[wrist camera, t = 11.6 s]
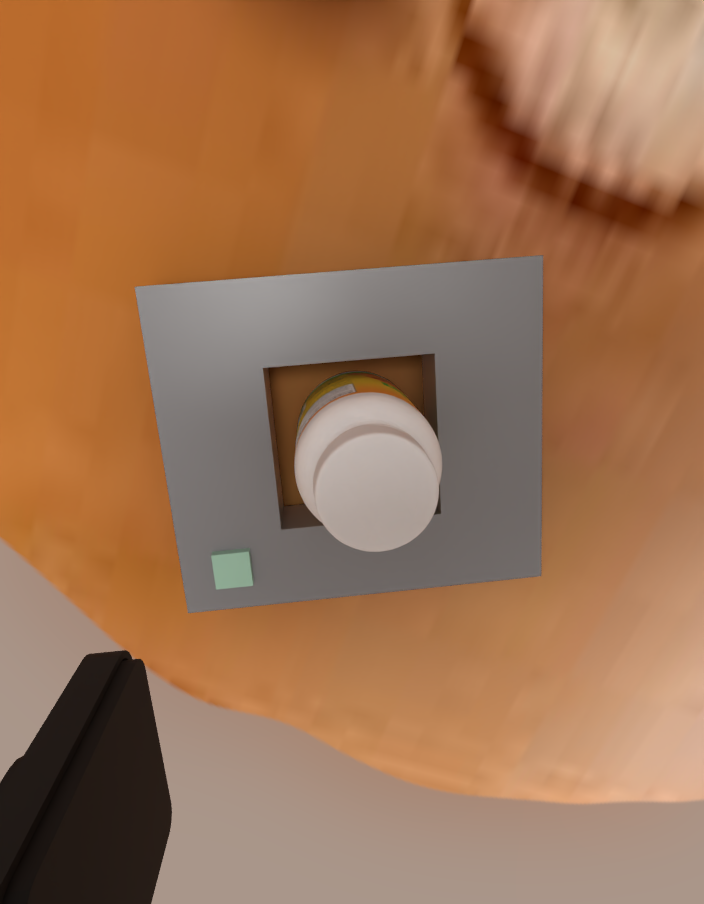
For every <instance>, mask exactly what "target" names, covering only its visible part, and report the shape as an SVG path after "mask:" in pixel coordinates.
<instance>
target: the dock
mask: <svg viewBox="0 0 704 904" xmlns="http://www.w3.org/2000/svg"><path fill="white" fill-rule="evenodd" d="M135 292H136V298H137V304H138V310H139V316H140V322H141V328H142V334H143V341H144V347H145V353H146V359H147V365H148V371H149V377H150V383H151V389H152V395H153V402H154V408H155V414H156V420H157V426H158V432H159V438H160V444H161V450H162V457H163V463H164V469H165V475H166V481H167V487H168V493H169V499H170V505H171V511H172V518H173V524H174V530H175V536H176V542H177V548H178V554H179V560H180V566H181V573H182V579H183V585H184V591H185V597H186V603H187V609H188V613H194V612H204V611H213V610H223V609H233V608H242V607H252V606H261V605H271V604H280V603H290V602H299V601H309V600H318V599H328V598H337V597H347V596H356V595H366V594H375V593H385V592H395V591H404V590H414V589H423V588H433V587H442V586H452V585H461V584H471V583H480V582H490V581H499V580H509V579H518V578H528V577H537V576H541V536H542V359H543V255H540V256H527V257H514V258H501V259H488V260H475V261H462V262H449V263H436V264H423V265H410V266H398V267H385V268H372V269H359V270H346V271H333V272H320V273H307V274H294V275H281V276H269V277H256V278H243V279H230V280H217V281H204V282H191V283H178V284H165V285H152V286H139V287H135ZM410 355H422V375H423V397H424V417H425V418H426V419H427V421H428V422H429V424H430V426H431V427H432V429H433V431H434V433H435V435H436V437H437V440H438V442H439V445H440V449H441V454H442V474H441V480H440V484H439V498H438V503H437V507H436V510H435V513H434V515H433V517H432V519H431V521H430V522H429V524H428V525H427V526H426V528H425V529H424V530H423V531H422V532H421V533H420V534H419V535H418V536H417V537H416V538H414V539H413V540H412V541H410V542H409V543H407V544H405V545H403V546H400V547H398V548H395V549H392V550H388V551H381V552H368V551H362V550H358V549H355V548H352V547H350V546H347V545H345V544H343V543H342V542H340V541H339V540H337V539H336V538H335V537H334V536H333V535H332V534H331V533H330V532H329V531H328V530H327V529H326V528H325V526H324V525H323V523H322V522H320V521H319V520H318V519H317V518H316V517H315V516H314V515H313V514H312V513H311V512H310V510H309V509H308V508H307V506H306V505H305V504H300V505H290V506H284V504H283V495H282V486H281V477H280V468H279V459H278V450H277V441H276V432H275V424H274V415H273V406H272V397H271V388H270V379H269V370H268V368H269V367H281V366H293V365H304V364H316V363H328V362H340V361H351V360H363V359H375V358H387V357H398V356H410Z"/></svg>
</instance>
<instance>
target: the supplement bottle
mask: <svg viewBox="0 0 704 904" xmlns="http://www.w3.org/2000/svg"><path fill="white" fill-rule="evenodd" d="M294 469H295V478H296V483H297V487H298V490H299V493H300V495H301V497H302V499H303V501H304V503H305V505H306V506H307V508H308V509H309V510H310V512H311V513H312V514H313V515H314V516H315V517H316V518H317V519H318V520H319V521H320V522H322V523H323V525H324V526H325V528H326V529H327V530H328V531H329V532H330V533H331V534H332V535H333V536H334V537H335V538H336V539H337V540H339V541H340V542H342V543H343V544H345V545H347V546H350V547H352V548H355V549H358V550H362V551H368V552H381V551H388V550H392V549H395V548H398V547H400V546H403V545H405V544H407V543H409V542H410V541H412V540H413V539H414V538H416V537H417V536H418V535H419V534H420V533H421V532H422V531H423V530H424V529H425V528H426V526H427V525H428V524H429V522H430V521H431V519H432V517H433V515H434V513H435V510H436V507H437V503H438V498H439V484H440V480H441V474H442V454H441V449H440V445H439V442H438V440H437V437H436V435H435V433H434V431H433V429H432V427H431V426H430V424H429V422H428V421H427V419H426V418H425V417H424V416H423V415H422V414H421V413H420V412H419V411H418V409H417V408H416V407H415V406H414V405H413V404H412V402H411V401H410V400H409V399H408V398H407V397H406V396H405V395H404V394H403V393H402V392H401V391H400V389H399V388H398V387H396V386H395V385H394V384H393V383H391V382H390V381H389V380H387V379H385V378H383V377H381V376H379V375H377V374H373V373H369V372H363V371H350V372H345V373H341V374H338V375H335V376H333V377H331V378H329V379H327V380H325V381H323V382H322V383H321V384H319V385H318V386H317V387H316V388H315V389H314V390H313V391H312V392H311V393H310V395H309V396H308V398H307V399H306V401H305V403H304V405H303V407H302V409H301V412H300V416H299V420H298V426H297V437H296V448H295V458H294Z"/></svg>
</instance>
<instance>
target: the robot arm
mask: <svg viewBox="0 0 704 904" xmlns="http://www.w3.org/2000/svg"><path fill="white" fill-rule="evenodd" d="M171 816H172V809H171V800H170V795H169V789H168V784H167V779H166V774H165V769H164V763H163V758H162V753H161V748H160V743H159V738H158V733H157V727H156V722H155V717H154V711H153V706H152V701H151V696H150V691H149V686H148V680H147V675H146V670H145V666H144V663H143V661H142V660H141V659H134V660H132V657H131V655H130V653H129V652H128V651H126V650H124V651H115V652H104V653H95V654H88V655H86V656H85V657H84V659H83V660H82V662H81V663H80V665H79V667H78V668H77V670H76V672H75V673H74V675H73V676H72V678H71V680H70V681H69V683H68V684H67V686H66V688H65V689H64V691H63V693H62V694H61V696H60V698H59V699H58V701H57V702H56V704H55V706H54V707H53V709H52V710H51V712H50V714H49V715H48V717H47V719H46V720H45V722H44V724H43V725H42V727H41V728H40V730H39V732H38V733H37V735H36V737H35V738H34V740H33V741H32V743H31V745H30V746H29V748H28V750H27V751H26V753H25V754H24V756H22V757H21V758H19V759H17V760H16V761H15V762H14V764H13V765H12V766H11V767H10V768H9V770H8V772H7V773H6V774H5V776H4V778H3V779H2V781H1V783H0V904H151V902H152V897H153V894H154V890H155V886H156V882H157V879H158V875H159V871H160V867H161V863H162V859H163V856H164V851H165V848H166V844H167V840H168V836H169V832H170V827H171Z"/></svg>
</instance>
